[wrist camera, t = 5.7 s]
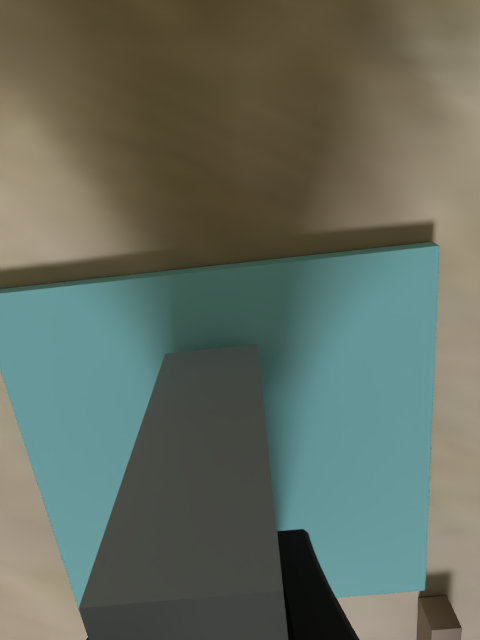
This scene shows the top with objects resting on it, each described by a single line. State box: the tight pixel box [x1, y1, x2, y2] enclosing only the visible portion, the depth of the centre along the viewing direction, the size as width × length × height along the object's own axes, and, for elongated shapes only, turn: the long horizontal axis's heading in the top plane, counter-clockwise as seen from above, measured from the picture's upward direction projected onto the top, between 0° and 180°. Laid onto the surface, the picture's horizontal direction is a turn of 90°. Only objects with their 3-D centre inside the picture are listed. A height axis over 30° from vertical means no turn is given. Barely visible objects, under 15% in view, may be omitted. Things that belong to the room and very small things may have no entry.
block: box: [79, 344, 288, 640], centre depth 10 cm, size 2×8×7 cm, turn 6°
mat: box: [0, 242, 440, 618], centre depth 14 cm, size 12×12×1 cm
